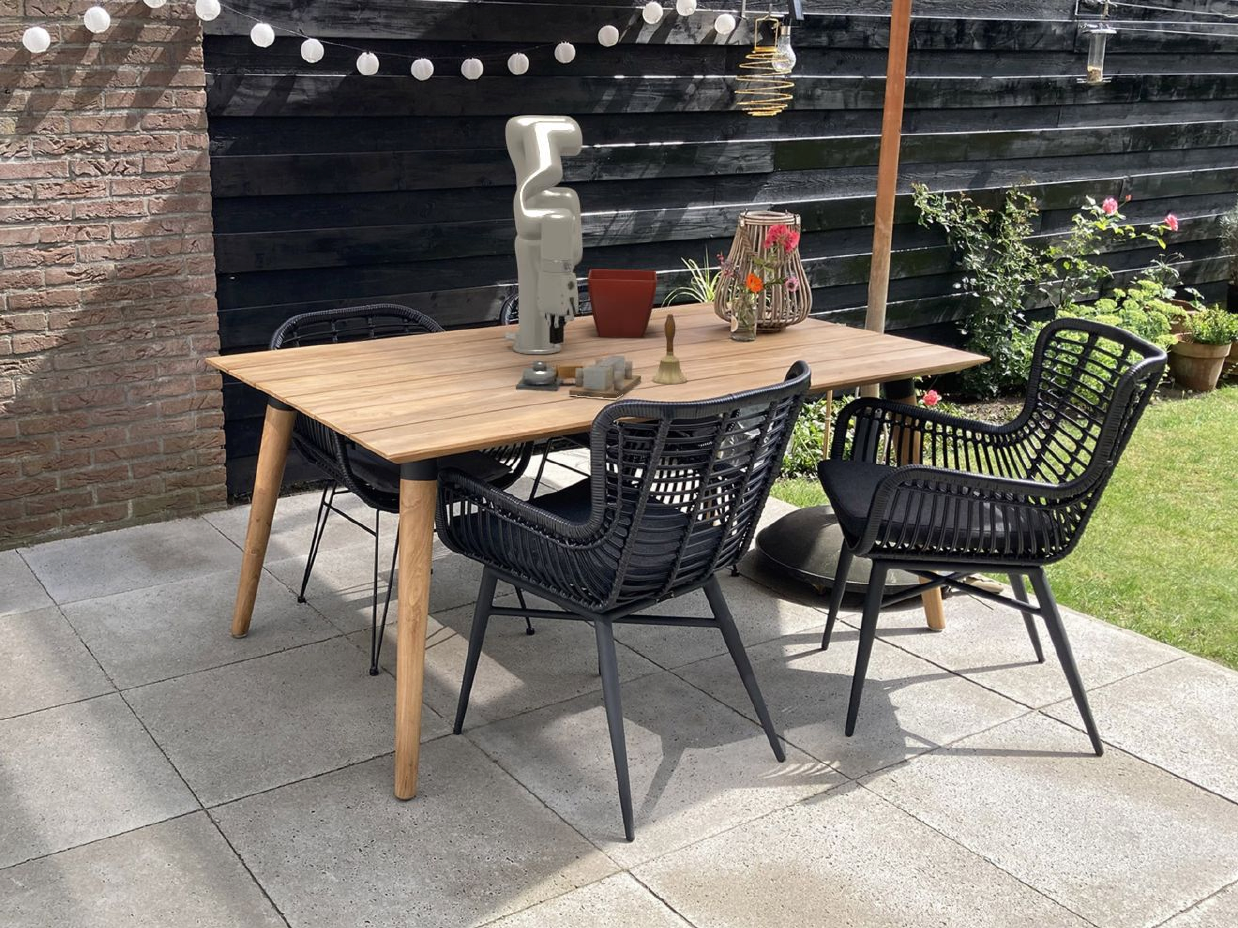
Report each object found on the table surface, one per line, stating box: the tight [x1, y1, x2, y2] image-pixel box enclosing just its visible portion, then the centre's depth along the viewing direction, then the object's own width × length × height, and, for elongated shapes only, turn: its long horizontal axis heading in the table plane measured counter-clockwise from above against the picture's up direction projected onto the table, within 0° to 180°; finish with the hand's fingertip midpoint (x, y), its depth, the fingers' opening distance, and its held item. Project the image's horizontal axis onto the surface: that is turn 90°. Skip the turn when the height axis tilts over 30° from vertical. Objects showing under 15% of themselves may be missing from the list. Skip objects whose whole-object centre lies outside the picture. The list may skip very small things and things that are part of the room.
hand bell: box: [651, 313, 688, 385], centre depth 296 cm, size 8×8×16 cm
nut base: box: [515, 377, 564, 392], centre depth 290 cm, size 10×14×1 cm, turn 83°
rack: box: [568, 358, 642, 401], centre depth 287 cm, size 11×20×6 cm, turn 163°
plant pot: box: [586, 268, 658, 339], centre depth 352 cm, size 19×19×17 cm
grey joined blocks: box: [583, 354, 626, 391], centre depth 288 cm, size 18×5×4 cm, turn 163°
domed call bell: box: [522, 360, 584, 384], centre depth 290 cm, size 14×8×4 cm, turn 104°
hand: (556, 342), depth 299 cm, fingers closed
